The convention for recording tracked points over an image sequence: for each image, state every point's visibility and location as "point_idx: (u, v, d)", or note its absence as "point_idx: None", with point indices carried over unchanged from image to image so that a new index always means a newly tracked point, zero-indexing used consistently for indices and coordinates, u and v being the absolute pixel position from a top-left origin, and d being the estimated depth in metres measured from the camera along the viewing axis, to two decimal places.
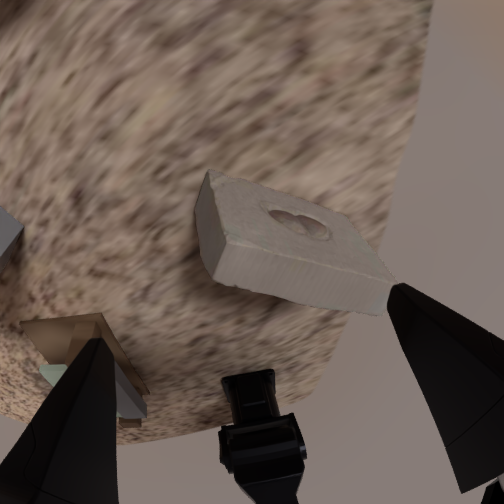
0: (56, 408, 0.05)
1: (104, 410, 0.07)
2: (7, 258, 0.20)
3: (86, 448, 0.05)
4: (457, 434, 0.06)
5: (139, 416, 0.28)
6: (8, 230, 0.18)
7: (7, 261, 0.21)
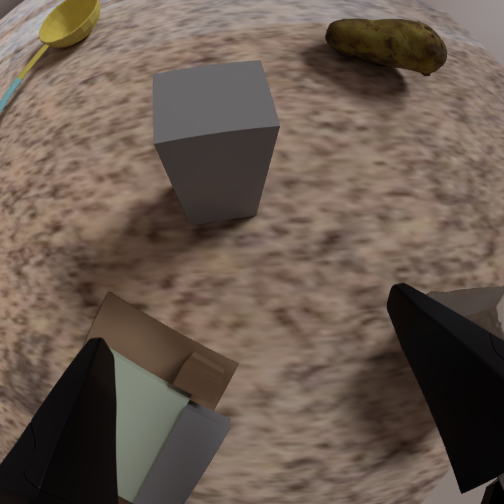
0: (56, 408, 0.05)
1: (104, 410, 0.07)
2: (210, 218, 0.22)
3: (86, 448, 0.05)
4: (457, 434, 0.06)
5: None
6: None
7: (196, 223, 0.22)
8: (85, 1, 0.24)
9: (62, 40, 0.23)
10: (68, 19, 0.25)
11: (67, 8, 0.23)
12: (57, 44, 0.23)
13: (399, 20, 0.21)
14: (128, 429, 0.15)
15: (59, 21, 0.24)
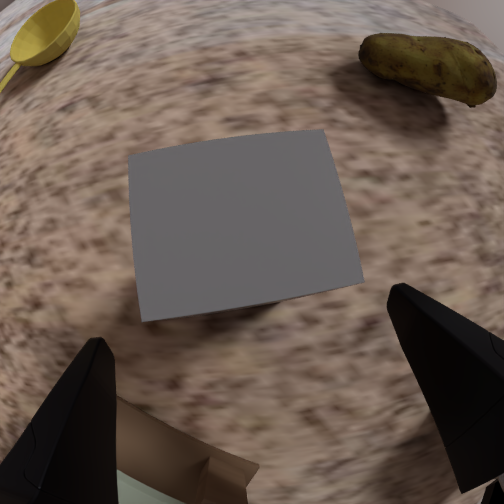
0: (56, 408, 0.05)
1: (104, 410, 0.07)
2: None
3: (86, 448, 0.05)
4: (457, 434, 0.06)
5: None
6: None
7: (206, 314, 0.18)
8: (63, 8, 0.19)
9: (34, 58, 0.18)
10: (46, 30, 0.20)
11: (44, 18, 0.19)
12: (29, 63, 0.19)
13: (447, 40, 0.16)
14: None
15: (35, 33, 0.20)
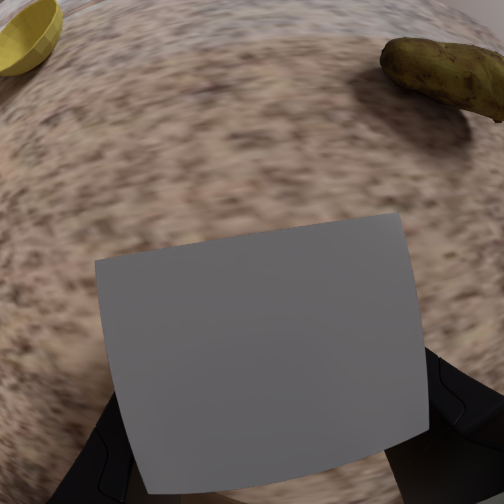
0: None
1: None
2: None
3: None
4: (403, 463, 0.06)
5: None
6: None
7: None
8: (46, 9, 0.16)
9: (11, 68, 0.15)
10: (27, 34, 0.18)
11: (25, 21, 0.16)
12: (7, 73, 0.16)
13: (477, 49, 0.14)
14: None
15: (16, 38, 0.17)
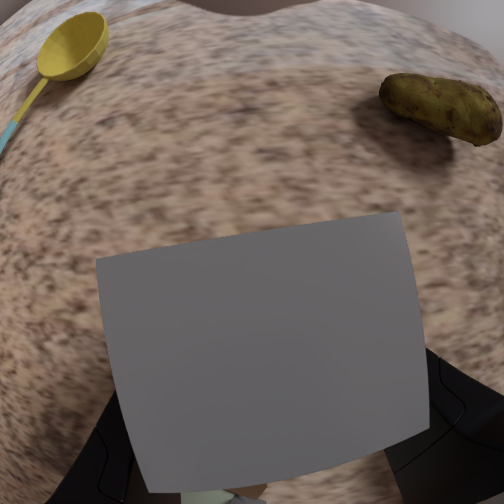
0: None
1: None
2: None
3: None
4: (403, 463, 0.06)
5: None
6: None
7: None
8: (91, 21, 0.22)
9: (63, 75, 0.21)
10: (72, 41, 0.23)
11: (70, 29, 0.22)
12: (58, 79, 0.22)
13: (462, 85, 0.19)
14: None
15: (61, 43, 0.23)
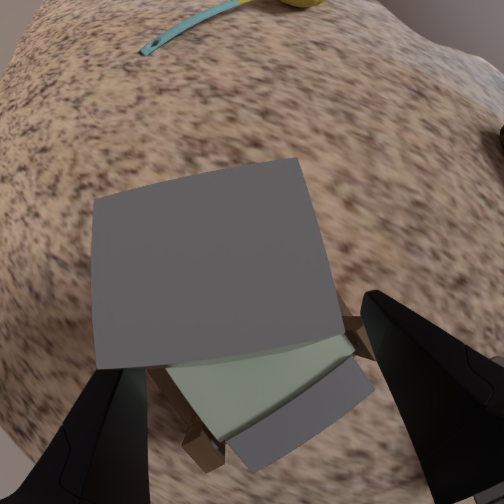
0: (90, 409, 0.05)
1: (137, 409, 0.07)
2: (231, 361, 0.16)
3: (122, 450, 0.05)
4: (431, 449, 0.06)
5: (253, 462, 0.15)
6: None
7: None
8: None
9: None
10: None
11: None
12: None
13: None
14: (279, 359, 0.17)
15: None
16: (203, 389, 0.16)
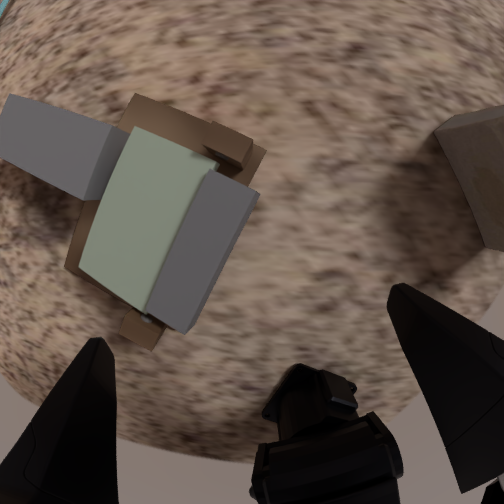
0: (56, 408, 0.05)
1: (104, 410, 0.07)
2: (79, 171, 0.16)
3: (86, 448, 0.05)
4: (457, 434, 0.06)
5: (177, 322, 0.17)
6: None
7: (81, 191, 0.17)
8: None
9: None
10: None
11: None
12: None
13: None
14: (150, 208, 0.17)
15: None
16: (110, 270, 0.18)
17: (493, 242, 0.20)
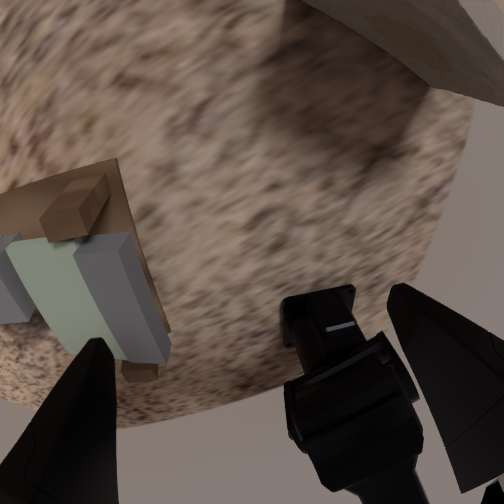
0: (56, 408, 0.05)
1: (104, 410, 0.07)
2: (8, 306, 0.15)
3: (86, 448, 0.05)
4: (457, 434, 0.06)
5: (154, 359, 0.18)
6: None
7: (22, 317, 0.16)
8: None
9: None
10: None
11: None
12: None
13: None
14: (68, 299, 0.16)
15: None
16: None
17: (438, 83, 0.15)
